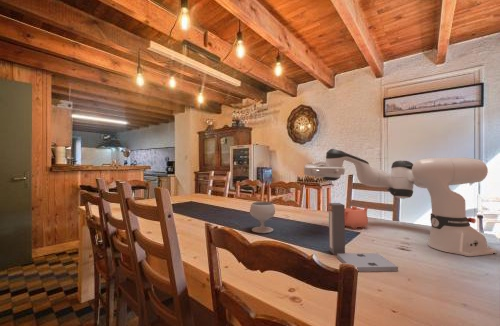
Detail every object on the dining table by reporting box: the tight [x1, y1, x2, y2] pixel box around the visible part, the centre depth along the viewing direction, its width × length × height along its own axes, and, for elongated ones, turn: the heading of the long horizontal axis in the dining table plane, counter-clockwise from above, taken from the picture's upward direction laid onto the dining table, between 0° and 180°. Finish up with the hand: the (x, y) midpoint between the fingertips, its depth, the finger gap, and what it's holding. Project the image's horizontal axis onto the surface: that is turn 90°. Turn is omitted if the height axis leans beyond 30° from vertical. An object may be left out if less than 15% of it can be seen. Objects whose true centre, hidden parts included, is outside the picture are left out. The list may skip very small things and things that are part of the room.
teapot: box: [345, 205, 369, 230], centre depth 133 cm, size 20×12×12 cm, turn 109°
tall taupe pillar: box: [328, 202, 346, 256], centre depth 94 cm, size 5×5×20 cm
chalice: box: [249, 201, 276, 234], centre depth 126 cm, size 14×14×15 cm
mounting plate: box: [336, 252, 399, 273], centre depth 83 cm, size 16×12×2 cm
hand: (327, 172), depth 112 cm, fingers open, 8 cm apart
